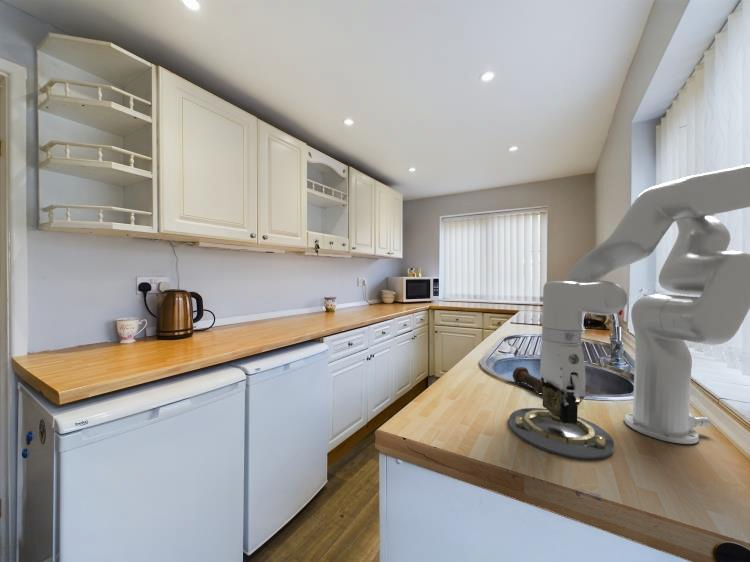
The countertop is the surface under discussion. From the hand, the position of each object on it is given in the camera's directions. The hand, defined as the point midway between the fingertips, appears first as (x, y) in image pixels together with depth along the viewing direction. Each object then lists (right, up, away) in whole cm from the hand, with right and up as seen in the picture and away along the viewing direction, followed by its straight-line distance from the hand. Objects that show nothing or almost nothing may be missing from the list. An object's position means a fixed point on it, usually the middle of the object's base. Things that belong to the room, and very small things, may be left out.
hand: (558, 413), depth 68 cm
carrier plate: (0, -4, 0) cm, 4 cm away
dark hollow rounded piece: (0, -2, 0) cm, 2 cm away
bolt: (+8, -4, +26) cm, 28 cm away
